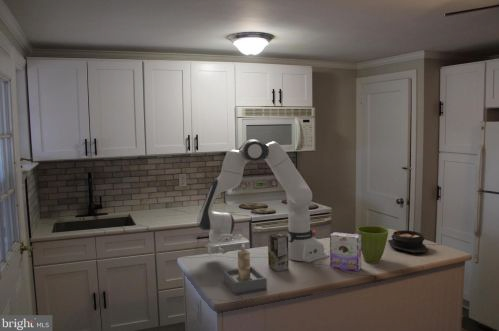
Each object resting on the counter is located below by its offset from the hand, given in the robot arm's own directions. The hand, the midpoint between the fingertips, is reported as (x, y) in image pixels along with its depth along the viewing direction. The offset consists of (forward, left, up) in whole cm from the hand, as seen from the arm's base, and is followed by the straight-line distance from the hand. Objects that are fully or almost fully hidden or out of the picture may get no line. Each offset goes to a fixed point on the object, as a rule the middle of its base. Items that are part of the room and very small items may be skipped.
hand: (234, 250), depth 189 cm
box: (0, +13, -12) cm, 17 cm away
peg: (0, +13, -11) cm, 17 cm away
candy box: (-52, +13, -12) cm, 55 cm away
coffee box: (-23, -1, -12) cm, 26 cm away
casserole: (-100, +2, -12) cm, 100 cm away
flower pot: (-70, +10, -12) cm, 72 cm away
